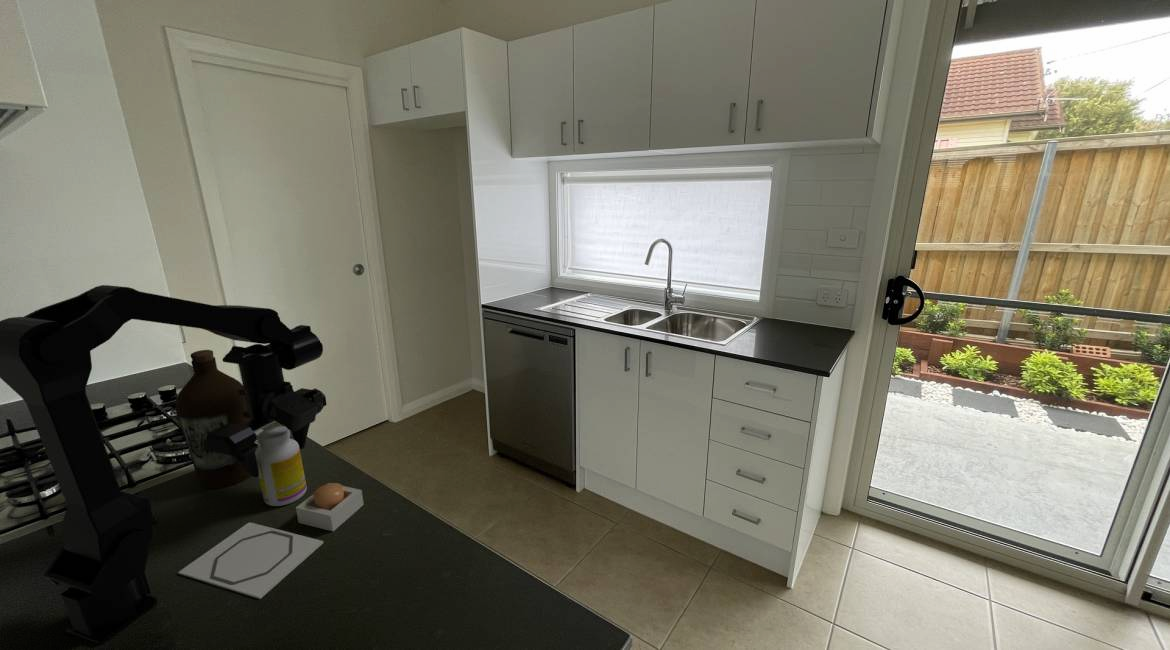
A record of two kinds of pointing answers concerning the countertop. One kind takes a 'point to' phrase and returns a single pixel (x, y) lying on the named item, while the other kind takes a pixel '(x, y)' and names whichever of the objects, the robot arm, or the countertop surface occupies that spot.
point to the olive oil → (210, 419)
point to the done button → (328, 496)
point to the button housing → (330, 518)
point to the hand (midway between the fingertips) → (279, 461)
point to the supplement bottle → (280, 467)
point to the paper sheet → (252, 559)
